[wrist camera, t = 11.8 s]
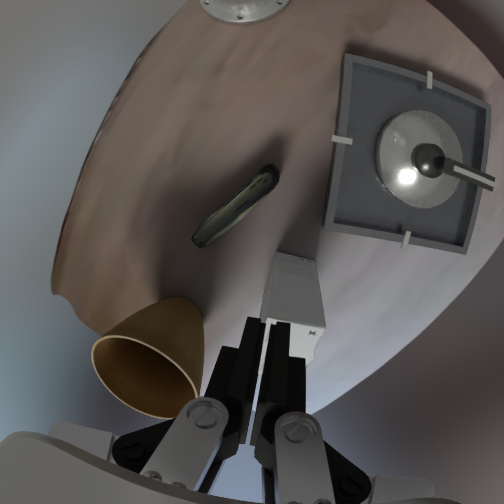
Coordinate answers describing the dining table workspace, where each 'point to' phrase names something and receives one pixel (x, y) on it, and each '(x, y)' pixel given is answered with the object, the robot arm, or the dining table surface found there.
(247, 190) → the green cucumber
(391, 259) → the dining table surface
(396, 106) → the housing
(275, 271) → the skincare box
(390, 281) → the dining table surface
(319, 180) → the dining table surface
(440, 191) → the dial
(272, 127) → the dining table surface
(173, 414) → the plant pot
